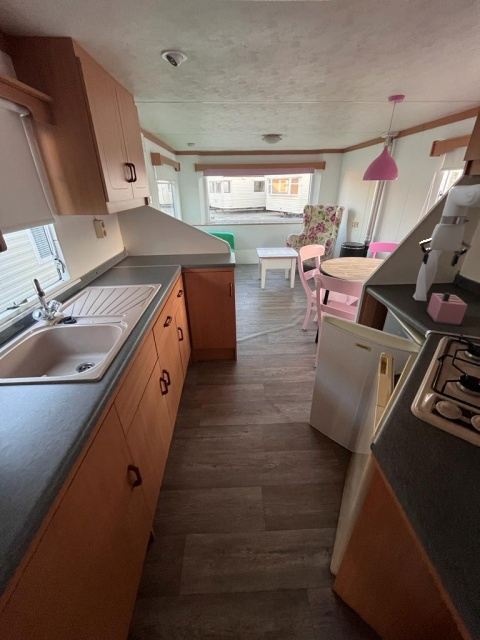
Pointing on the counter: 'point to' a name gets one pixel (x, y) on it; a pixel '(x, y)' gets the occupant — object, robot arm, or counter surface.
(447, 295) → the slider
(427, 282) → the skyscraper
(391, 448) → the counter surface
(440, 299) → the toaster
